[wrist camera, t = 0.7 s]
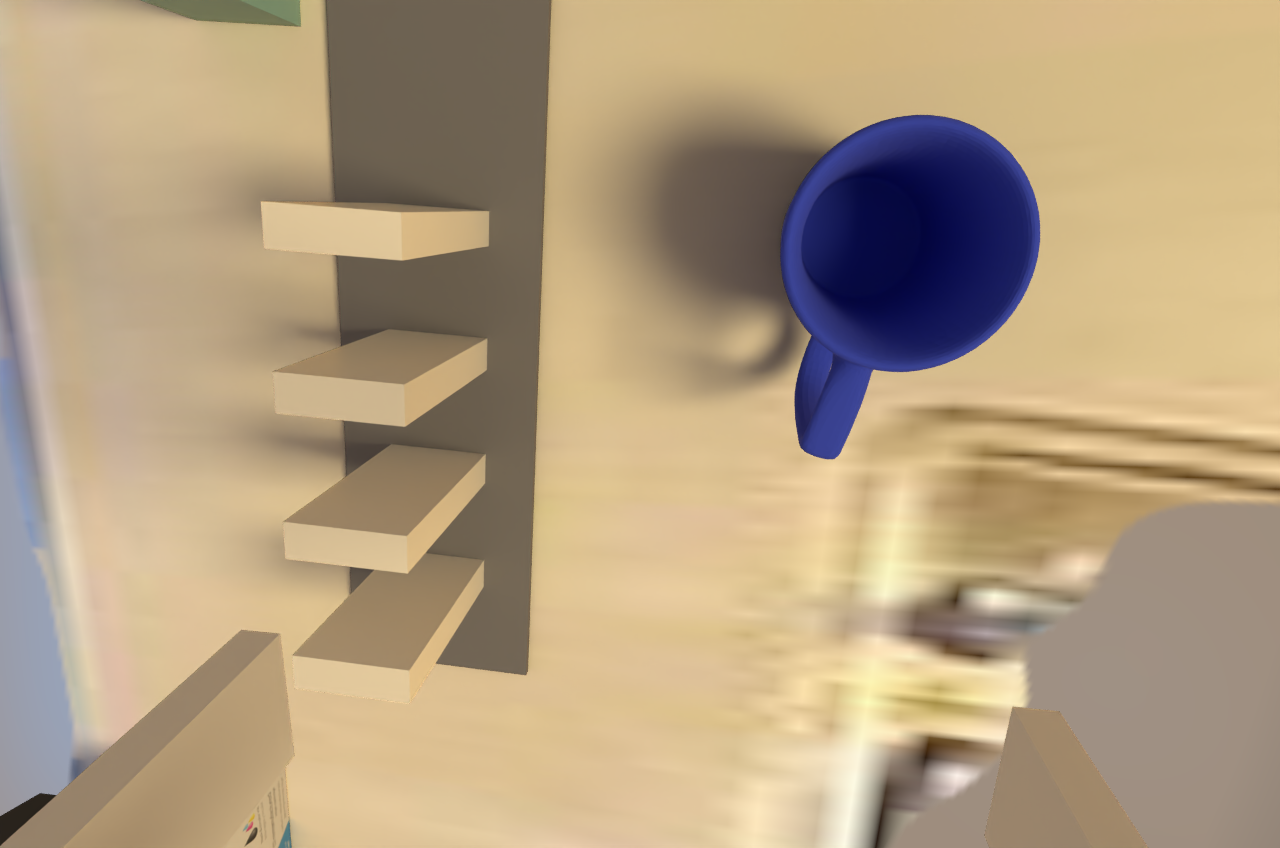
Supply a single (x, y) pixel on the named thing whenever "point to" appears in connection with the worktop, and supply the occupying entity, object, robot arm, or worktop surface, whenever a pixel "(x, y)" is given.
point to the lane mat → (454, 258)
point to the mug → (901, 260)
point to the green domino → (236, 10)
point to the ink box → (266, 821)
